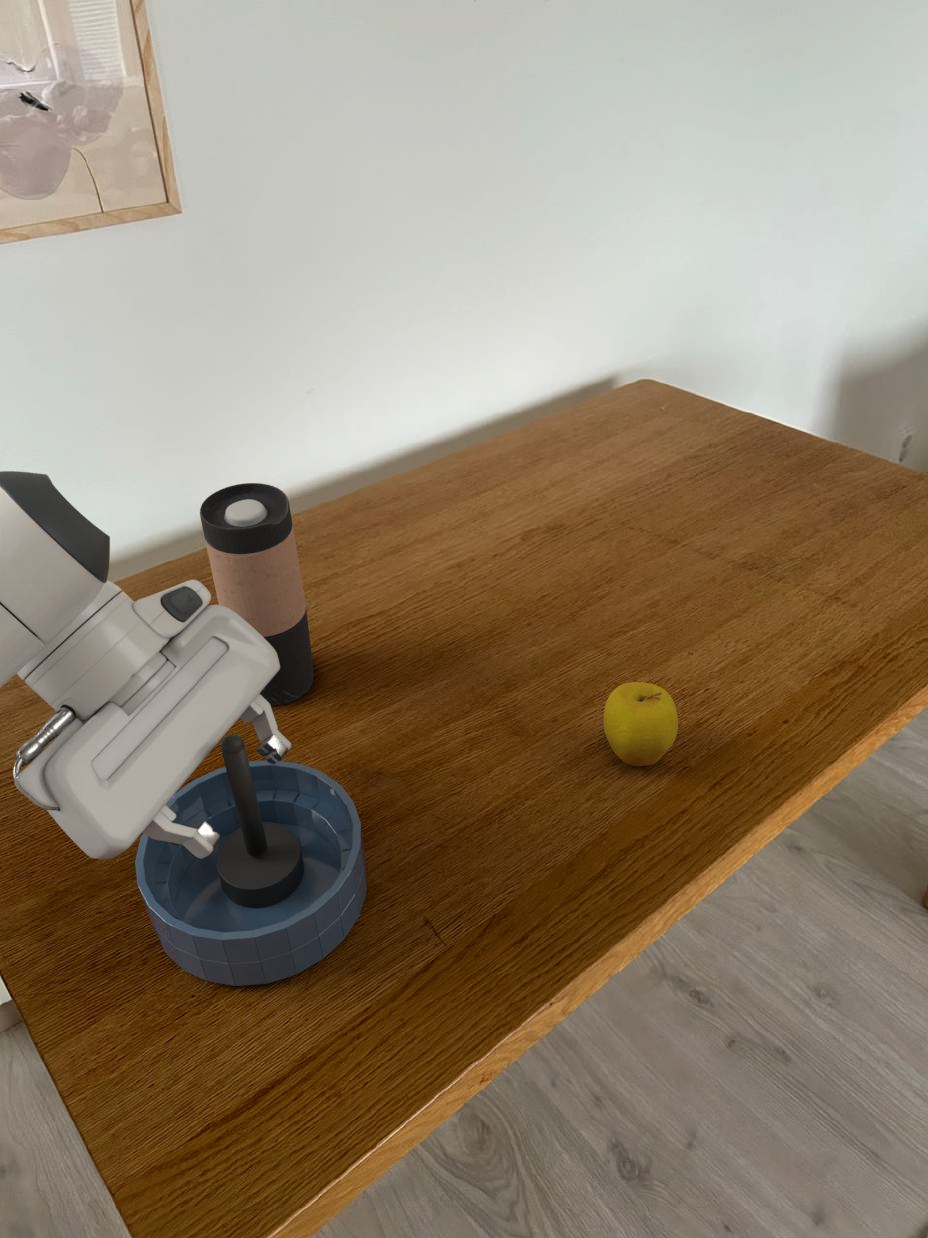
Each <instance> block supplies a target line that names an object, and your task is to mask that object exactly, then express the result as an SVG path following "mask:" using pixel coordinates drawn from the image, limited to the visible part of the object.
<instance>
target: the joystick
mask: <svg viewBox="0 0 928 1238" xmlns="http://www.w3.org/2000/svg"><path fill="white" fill-rule="evenodd" d="M221 740H222V741H221V742H220V750H221V754H222V758H223V763H224V767H226V771H227V775H228V779H229V783H230V787H231V791H232V795H233V799H234V803H235V807H236V811H237V815H238V819H239V823H240V827H241V828H239V829H238V830H236V831H234V832H233V833H232V834H231V835H229V836H228V837H227V838H226V839H225V840H224V842H223V843H222V845H221V846H220V848H219V851H218V853H217V857H216V867H217V870H218V874H219V877H220V881H221V885H222V888H223V890H224V893H225V894H226V895H227V897H228V898H229V899H230V900H232V901H233V902H234V903H236V904H238V905H241V906H243V907H248V908H264V907H268V906H272V905H275V904H277V903H279V902H281V901H283V900H285V899H286V898H287V897H289V896H290V895H291V894H292V893H293V892H294V891H295V890H296V889H297V887H298V886H299V884H300V882H301V880H302V878H303V874H304V862H303V857H302V852H301V847H300V842H299V840H298V838H297V836H296V835H295V834H294V832H293V831H291V830H290V829H289V828H287V827H286V826H284V825H282V824H278V823H274V822H262V819H261V814H260V810H259V806H258V801H257V797H256V792H255V788H254V783H253V779H252V775H251V770H250V766H249V761H250V760H249V758H248V757H249V756H248V754H247V748H246V745H245V741H244V739H243V738H242V737H241V735H238V734H234V733H233V734H228V735H226V736H224V737H223V738H222V739H221Z"/></svg>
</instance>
